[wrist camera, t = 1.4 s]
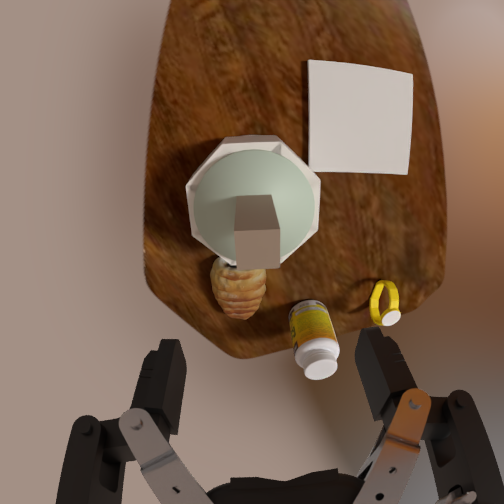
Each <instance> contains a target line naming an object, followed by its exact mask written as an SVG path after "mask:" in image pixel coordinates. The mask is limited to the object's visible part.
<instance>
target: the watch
mask: <svg viewBox="0 0 504 504" xmlns="http://www.w3.org/2000/svg"><path fill="white" fill-rule="evenodd" d="M384 285H385V286H386V287H387V289H388V293H389V309H387V310H385V311H384V312H383V313H382V315H381V317H380V315H379V310H378V299H379V297H380V294H381V292H382V289H383V287H384ZM398 305H399V297H398V291H397V288H396V286H395V285H394V283H393V282H391V281H388V280H380V281H378V282H376V285H375V287H374V290H373V293H372V295H371V298H370V304H369V308H370V314H371V318H372V320H373V321H374V323H375V324H378V325H385V326H391V325H393V324H395V323H396V322H397V321H398V320H399V319H400V317H401V313H400V311H399V309H398Z"/></svg>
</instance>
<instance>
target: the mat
mask: <svg viewBox="0 0 504 504" xmlns="http://www.w3.org/2000/svg"><path fill="white" fill-rule="evenodd" d="M307 63H308V111H309V143H308V167H309V168H310V169H311V170H312V171H313V172H363V173H387V174H404V175H407V173H408V164H409V154H410V143H411V128H412V107H413V74H409V73H404V72H399V71H394V70H389V69H384V68H378V67H372V66H365V65H358V64H350V63H341V62H331V61H319V60H307Z"/></svg>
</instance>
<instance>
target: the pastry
mask: <svg viewBox="0 0 504 504" xmlns="http://www.w3.org/2000/svg"><path fill="white" fill-rule="evenodd" d="M210 278H211V283H212V291H213V293H214V295H215V298H216V300H217V301H218V304H219V305H220V306H221V307H222V309H223V311H224V313H225V314H226V315H227V316H229V317H231V318H239V319H243V320H246V319H248V318H249V317H250V316H252V315H253V314H254V313H255V311H257V309H258V308H259V304H260V302H261V300H262V296H263V295H264V293H265V290H266V286H265V282H266V272H265V269H250V270H237V265H230V264H229V263H228V262H226V261H225V260H224V259H222V258H221V257H218V258H217V259H216V260H215V261H214V263H213V267H212V270H211V272H210Z"/></svg>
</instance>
